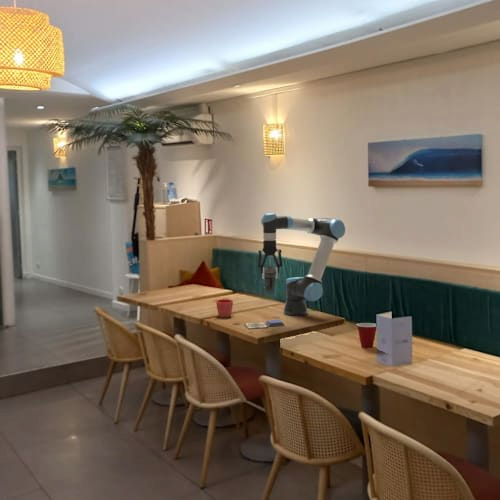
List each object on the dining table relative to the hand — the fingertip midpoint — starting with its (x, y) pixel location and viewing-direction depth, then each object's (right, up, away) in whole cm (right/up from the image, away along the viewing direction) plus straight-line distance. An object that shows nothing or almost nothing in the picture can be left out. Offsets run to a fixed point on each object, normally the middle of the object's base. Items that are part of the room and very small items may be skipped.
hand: (269, 278), depth 373 cm
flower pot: (-28, -25, +26) cm, 45 cm away
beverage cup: (0, -8, +1) cm, 8 cm away
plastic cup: (+48, -33, -50) cm, 77 cm away
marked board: (-8, -28, -3) cm, 29 cm away
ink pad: (+3, -27, +1) cm, 28 cm away
